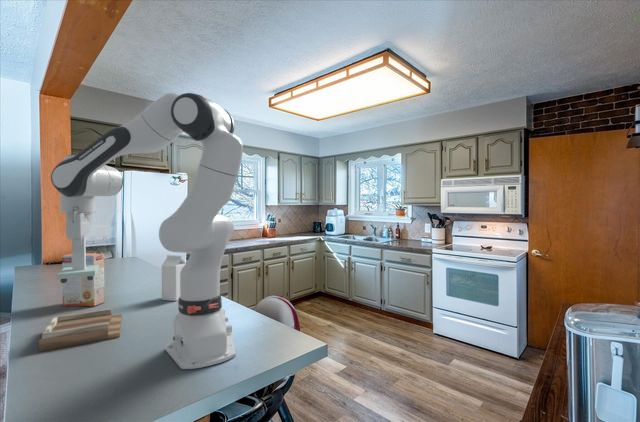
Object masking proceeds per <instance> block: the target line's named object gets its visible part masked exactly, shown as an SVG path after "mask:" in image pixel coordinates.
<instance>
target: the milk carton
mask: <svg viewBox="0 0 640 422" xmlns="http://www.w3.org/2000/svg"><path fill="white" fill-rule="evenodd" d="M186 263H187V262H186V261H185V260H184V259H183V258H182V255H171V254H168V255H166V259H165V260H164V261H163V262H162V264H161V301H172V302H176V301H179V297H180V272H181V270H182V268H183V267H184V266H185V264H186Z"/></svg>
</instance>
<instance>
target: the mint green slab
mask: <svg viewBox="0 0 640 422" xmlns="http://www.w3.org/2000/svg"><path fill="white" fill-rule="evenodd" d="M86 248H87V245H86V236H85V237H82V250H81V251H77V252H75V251H74V245H73V239H71V254H72V267H66V268H64V269H61V270H60V271H59V272H58V273H57V275H56V278H57V280H60V283H61V284H63V283H66V282H67V278H76V277H86V276H88V277H87V279H88V280H93V276H95V275H96V273H97V271H98V269H99V265H91V266H86V253H87V251H86Z"/></svg>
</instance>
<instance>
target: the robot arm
mask: <svg viewBox="0 0 640 422" xmlns="http://www.w3.org/2000/svg"><path fill="white" fill-rule="evenodd" d="M234 131H235V122H234V118H233V116H232V115H231V114H230V112H228V110H226V109H224V108H223V107H222V106H220V105H218V104H217V102H215V101H213V100H211V99H209V98H206V97H204V96H203V95H201V94H198V93H193V92H191V93H190V92H186V93H181V94H178V93H177V94H176V93H172V92H171V93H170V92H169V93H166V94H164V95H162V96H161V97H159V98H158V99H155V100H154V101H153V102H151V104H150V105H148V106H146V108H144V109H143V110H142V111H141V112H140V113H139V114H138V115H137V116H135V117H134V118H132V119H131V120H130V121H128V122H127V123H124V124H122V125H119V126H118V127H115V128H112V129H110V130H109V131H106V132H105V133H104V134H103V135H101V136H100V137H98V138H97V139H95V140H94V141H93V142H92V143H91V144H89V145H88V146H86V147H85V148H83V149H82V150H81V151H80V152H78V153H77V154H69V155H66V156H64V157H63V158H62V160H61V162H59V163H58V164H56V165H55V167H54V168H53V170H52V172H51V174H50V181H51V183H52V185H53V187H54V188H55V189H56V191H57V192H59V193H60V196H59V200H60V201H59V204H60V205H59V207H60V208H59V210H60V213H65V236H66V237H65V238H66V239H70V240H72V239H73V245H74V251H75V252H77V251H81V250H82V237H85V238H86V235H88V234H90V231H91V225H92V217H93V214H92V213H95V212H97V209H96V208H97V207H96V206H97V203H96V202H97V201H96V199H97V198H96V197H111V196H115V195H117V194H119V192H121V190H122V188H123V185H124V178H123V175H122V174H121V172H120V171H119V170H118V169H117V168H116V167H112V166H109V165H107V164H109V163H110V162H111V161H113V160H115V159H116V158H118V157H122V156H125V155H135V154H154V153H155V154H157V153H159V152H160V151H162V150H164V149H165V148H167V147H168V146H170V145H171V144H172V143H173V142H174V141H175V140H177V138H178V137H179V136H180V135H182V134H183V133H184V134H186V135H188V136H189V137H191V139H192V140H194V141H198V142H199V141H200V142H201V144H202V153H201V157H200V160H199V163H198V167H197V170H196V172H195V173H196V174H195V176H194V179H193V183H192V186H191V188H190V190H189V192H188V194H187V195H186V197H185V199H184V200H183V202H182V203H181V204H180V206H179V207H178V208H177V209H176V211H174V212H173V213H172V214H171V215H169V216H168V217H167V218H166V219H164V220H163V221H162V222H161V224H160V226H159V229H158V238H159V242H160V243H161V246H162V247H163V248H164V249H165V250H166V251H169V252H172V253H181V254H188V253H190V255H189V257H188V260H187V262H185V263H186V264H185V266H184V267H183V268H182V270H181V272H180V297H179V300H178V302H177V307H178V313H177V315H175V316H174V317H173V319H172V335H171V336H172V337H171V339H172V340H171V342H169V343H168V344H166V345H165V347H164V348H165V351H166V353H168V355H169V356H170V357H171V358H172V360H173V361H174V362H175V363H176V364H177V365H178V367H179V368H180V369H182V370H193V369H200V368H206V367H209V366H213V365H217V364H220V363H223V362H226V361H228V360H231V359H232V358H234V357H235V356H236V350H235V349H236V347H235V343H234V337H233V326H232V325H233V324H226V323H227V322H229V317H228V316H226V311H225V309H224V308H223V307H222V306H223V305H222V303H223V302H222V301H223V299H222V294H221V293H220V287H221V285H220V282H221V281H220V280H221V278H220V277H221V267H222V262H223V259H224V254H225V251H226V247H228V243H229V242H230V240H231V239H232V238H233V235H234V233H235V232H234V231H235V226H234V223H233V220H232V219H231V218H230V217H228V216H227V215H225V214H222V213H219V212H220V211H221V210H222V208H224V206H225V205H227V204H228V203H229V202H230V200H231V199H232V195H233V191H234V188H235V185H236V181H237V180H238V179H237V178H238V176H239V173H240V169H241V165H242V158H243V154H244V153H243V150H244V145H243V142H242V140H241V139H240V138H239V136H237V135H236V134H234Z"/></svg>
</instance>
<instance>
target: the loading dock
mask: <svg viewBox="0 0 640 422" xmlns="http://www.w3.org/2000/svg"><path fill="white" fill-rule="evenodd" d="M112 311H113V310H112V308H106V309H99V310H92V311H85V312H78V313H71V314H64V315H56V316H54V317H53V318H52V319H51V321H50V323H49V324H48V325H47V326H46V328H45V330H44V331H43V332H42V333H41V338H40V339H39V340H38V352H39V353H40V352H45V351H51V350H57V349H62V348H63V349H64V348H67V347H72V346H77V345H78V346H79V345H84V344H88V343H95V342H101V341H105V340H110V339H116V338H120V336H121V331H122V329H121V328H122V320H123V315H122V314H116V315H113V314H112V313H113V312H112Z"/></svg>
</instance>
